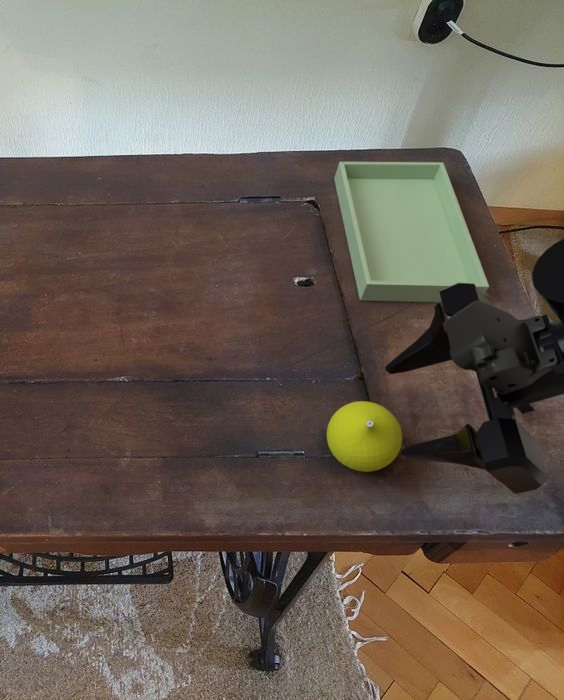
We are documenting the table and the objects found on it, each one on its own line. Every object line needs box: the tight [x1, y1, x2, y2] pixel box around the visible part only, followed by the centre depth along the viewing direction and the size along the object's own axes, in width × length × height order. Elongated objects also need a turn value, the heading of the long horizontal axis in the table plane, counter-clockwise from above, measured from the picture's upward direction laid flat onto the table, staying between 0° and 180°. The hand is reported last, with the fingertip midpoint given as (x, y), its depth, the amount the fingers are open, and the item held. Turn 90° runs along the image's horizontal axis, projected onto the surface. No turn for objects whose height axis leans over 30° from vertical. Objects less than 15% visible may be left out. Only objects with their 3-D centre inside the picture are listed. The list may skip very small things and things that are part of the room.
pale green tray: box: [333, 161, 490, 303], centre depth 86 cm, size 14×23×3 cm, turn 176°
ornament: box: [326, 400, 403, 473], centre depth 65 cm, size 7×7×10 cm
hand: (394, 410), depth 62 cm, fingers open, 9 cm apart
